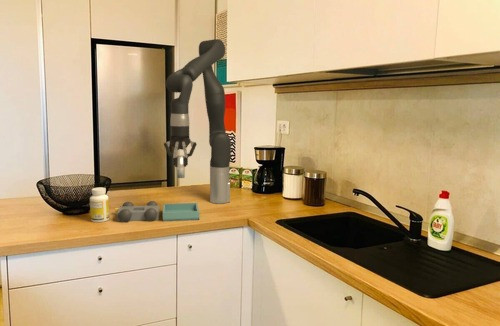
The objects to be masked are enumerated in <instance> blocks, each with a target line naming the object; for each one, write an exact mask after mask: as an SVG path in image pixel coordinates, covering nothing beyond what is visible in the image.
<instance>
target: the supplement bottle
mask: <svg viewBox="0 0 500 326" xmlns="http://www.w3.org/2000/svg"><path fill="white" fill-rule="evenodd" d="M106 191H107V189H106V187H100V186H99V187H93V188H91V194H92V195H91V196H89V208H90V209H89V210H90V212H89V213H90V221H91V222H93V223H103V222H108V221H109V220H110V202H109V201H110V200H109V196H108V195H107V194H106Z"/></svg>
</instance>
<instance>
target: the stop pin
mask: <svg viewBox="0 0 500 326" xmlns="http://www.w3.org/2000/svg"><path fill="white" fill-rule="evenodd" d="M176 157H177V167H176V178H177V179H185V171H186V170H185V167H184V157H185V155H182V154H181V155H176Z"/></svg>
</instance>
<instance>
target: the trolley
mask: <svg viewBox="0 0 500 326" xmlns="http://www.w3.org/2000/svg"><path fill="white" fill-rule="evenodd" d="M114 214H115V215H116V217H117V219H116V221H117V222H121V223H128V222H134V221H135V222H136V221H138V222H140V221H142V222H143V221H147V222H154V221H159V218H160V205H159V204H158V203H157V202H156V201H154V200H150V201H148V202H147V203H146V205H134V204H133V202H131V201H126V202H124V203H122V206H119V207H115V208H114Z"/></svg>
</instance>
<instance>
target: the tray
mask: <svg viewBox="0 0 500 326" xmlns="http://www.w3.org/2000/svg"><path fill="white" fill-rule="evenodd" d="M180 221H200V209H199V205H198V203H197V202H180V203H179V202H177V203H162V222H180Z"/></svg>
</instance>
